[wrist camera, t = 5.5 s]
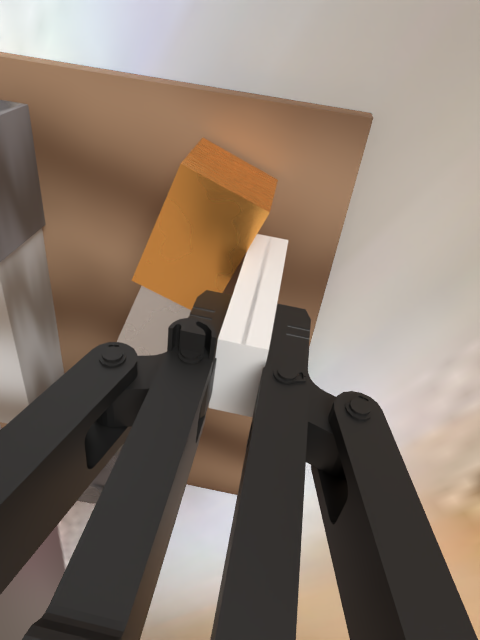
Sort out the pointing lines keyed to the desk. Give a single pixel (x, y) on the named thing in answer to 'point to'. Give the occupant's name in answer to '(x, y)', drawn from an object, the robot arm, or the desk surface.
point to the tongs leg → (192, 249)
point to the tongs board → (144, 212)
